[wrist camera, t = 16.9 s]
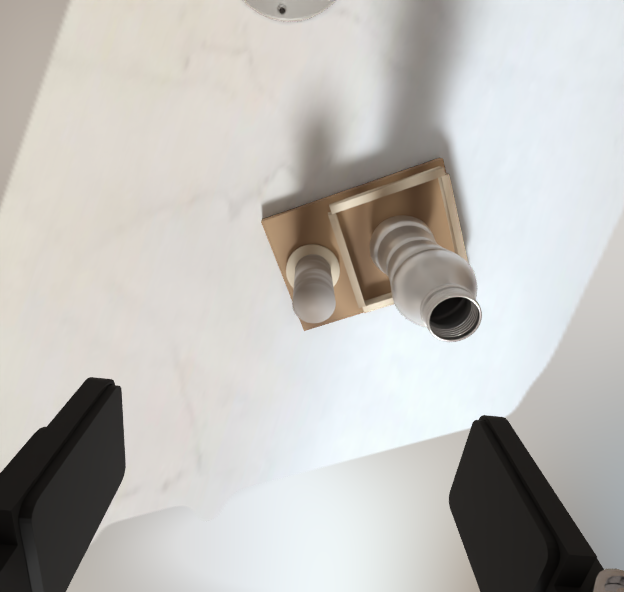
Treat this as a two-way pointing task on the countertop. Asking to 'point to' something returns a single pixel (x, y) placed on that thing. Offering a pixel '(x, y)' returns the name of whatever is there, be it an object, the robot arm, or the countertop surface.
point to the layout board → (356, 241)
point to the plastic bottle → (426, 278)
